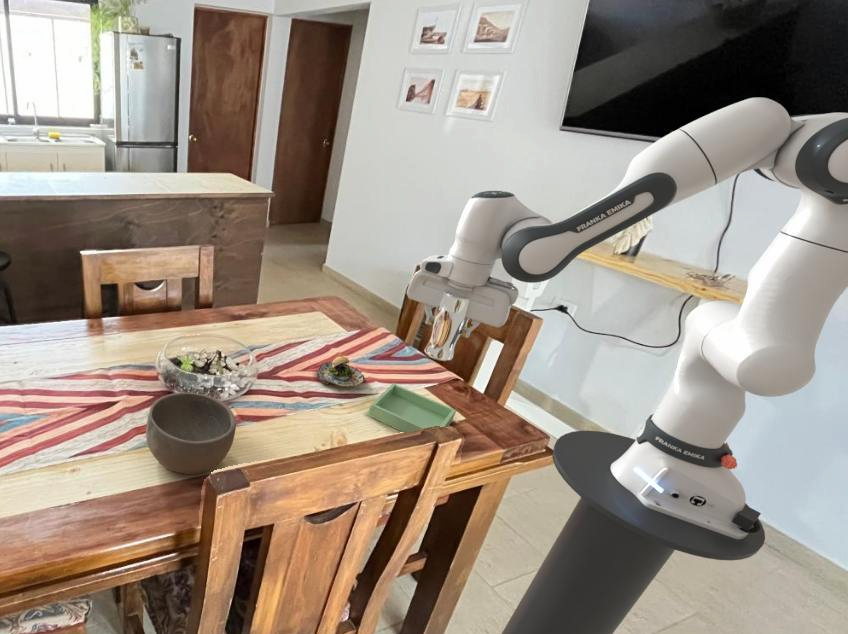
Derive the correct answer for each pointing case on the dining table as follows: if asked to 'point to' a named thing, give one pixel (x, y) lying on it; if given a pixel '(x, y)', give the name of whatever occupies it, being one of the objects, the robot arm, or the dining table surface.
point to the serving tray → (409, 410)
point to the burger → (340, 373)
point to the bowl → (190, 432)
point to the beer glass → (447, 326)
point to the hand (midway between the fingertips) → (446, 329)
